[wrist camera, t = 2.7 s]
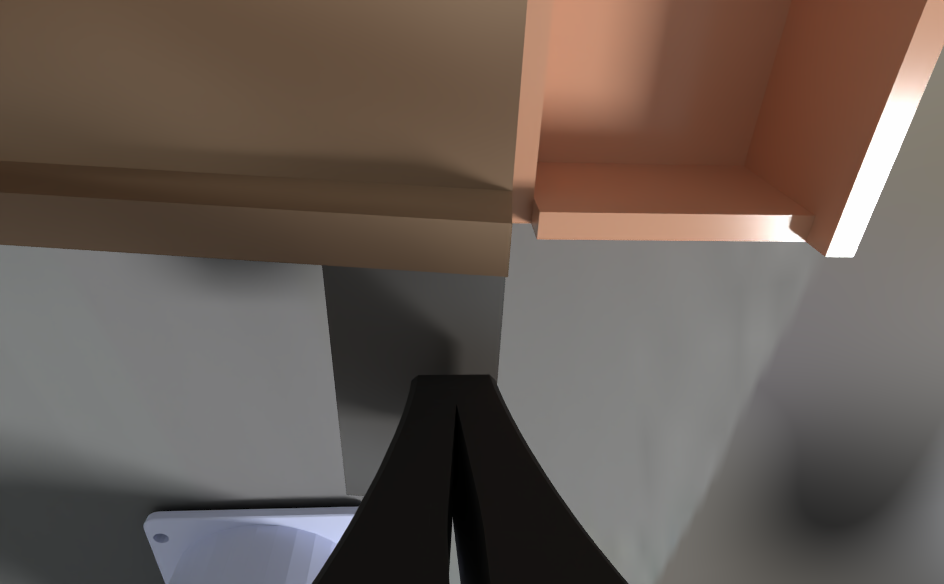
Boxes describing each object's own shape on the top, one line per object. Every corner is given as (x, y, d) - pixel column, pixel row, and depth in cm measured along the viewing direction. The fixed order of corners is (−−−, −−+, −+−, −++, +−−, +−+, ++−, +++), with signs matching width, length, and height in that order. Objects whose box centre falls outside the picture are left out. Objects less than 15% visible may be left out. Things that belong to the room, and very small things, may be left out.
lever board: (489, 469, 13) (484, 567, 11) (-109, 424, 13) (-222, 509, 11) (553, -357, 6) (574, -506, 4) (-634, -391, 7) (-1137, -542, 5)
